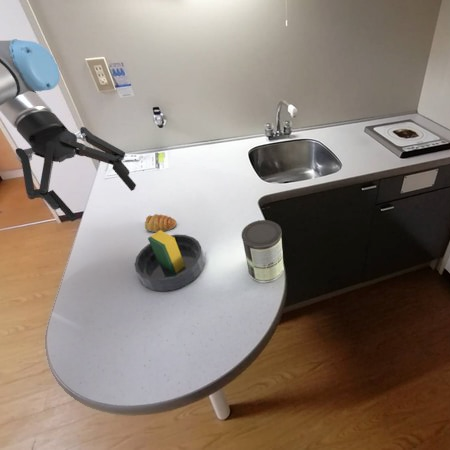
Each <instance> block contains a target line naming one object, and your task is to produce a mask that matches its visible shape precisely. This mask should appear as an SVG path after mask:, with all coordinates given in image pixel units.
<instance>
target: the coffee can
mask: <svg viewBox="0 0 450 450" xmlns="http://www.w3.org/2000/svg"><path fill="white" fill-rule="evenodd" d="M282 234H283V233H282V227H281V226H280V225H279V224H278V223H276V222H274V221H272V220H267V219H262V220H255V221H252V222H250V223H248V224H246V226H244V227H243V229H242V231H241V240H242V243H243V249H244V253H245V259H246V266H247V273H248V275H249V277H250V278H251V280H253V281H255V282H257V283H260V284H267V283H272V282H275V281H276V280H278V279H279V278H281V276H282V275H283V273H284V269H285V266H284V254H283V239H282Z"/></svg>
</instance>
